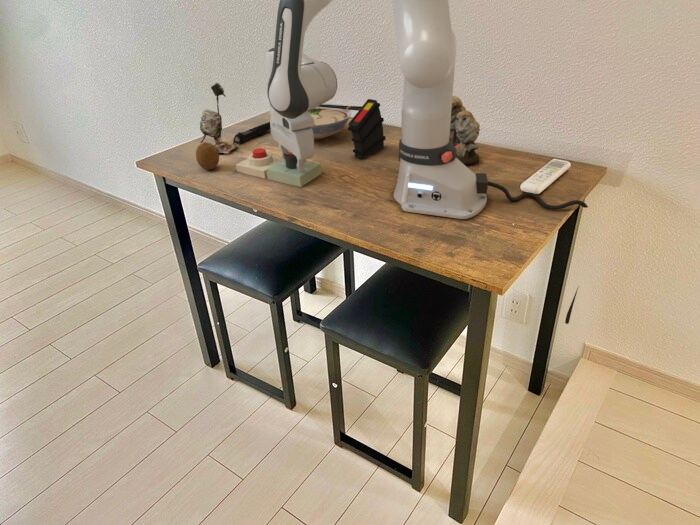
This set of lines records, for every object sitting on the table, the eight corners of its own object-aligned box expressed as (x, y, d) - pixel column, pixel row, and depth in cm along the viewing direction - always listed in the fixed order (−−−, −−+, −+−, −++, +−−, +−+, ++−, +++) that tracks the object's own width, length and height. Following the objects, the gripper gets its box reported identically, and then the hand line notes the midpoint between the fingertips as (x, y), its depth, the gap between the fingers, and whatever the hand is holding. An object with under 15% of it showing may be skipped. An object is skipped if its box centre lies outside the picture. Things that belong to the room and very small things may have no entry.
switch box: (286, 166, 147) (284, 152, 145) (264, 178, 141) (262, 164, 138) (258, 160, 152) (257, 146, 150) (236, 171, 145) (234, 158, 143)
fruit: (196, 168, 148) (190, 141, 144) (218, 163, 151) (213, 136, 146) (201, 175, 144) (196, 148, 139) (224, 170, 146) (219, 143, 142)
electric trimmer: (275, 131, 172) (274, 122, 171) (240, 145, 162) (239, 135, 161) (267, 129, 174) (266, 120, 173) (232, 143, 164) (231, 133, 163)
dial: (304, 164, 140) (302, 152, 138) (295, 170, 137) (294, 157, 135) (291, 162, 142) (290, 149, 140) (283, 167, 139) (281, 155, 137)
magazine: (391, 139, 157) (378, 99, 146) (368, 170, 153) (353, 131, 141) (381, 137, 159) (367, 97, 148) (358, 167, 155) (342, 129, 143)
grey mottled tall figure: (214, 143, 165) (202, 78, 154) (241, 149, 160) (231, 82, 149) (195, 152, 159) (181, 85, 148) (223, 158, 154) (211, 89, 143)
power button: (269, 155, 145) (268, 149, 144) (260, 160, 142) (260, 153, 141) (259, 153, 146) (258, 147, 145) (250, 157, 144) (249, 151, 143)
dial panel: (321, 173, 142) (320, 163, 140) (300, 187, 135) (299, 176, 133) (289, 166, 147) (287, 156, 145) (267, 179, 140) (266, 168, 138)
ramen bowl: (265, 143, 163) (261, 118, 158) (299, 121, 180) (296, 97, 176) (338, 153, 154) (336, 126, 150) (366, 128, 171) (365, 103, 167)
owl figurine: (410, 158, 149) (412, 98, 139) (428, 145, 157) (430, 87, 147) (470, 170, 140) (476, 107, 131) (485, 155, 149) (492, 95, 139)
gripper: (261, 105, 138) (268, 154, 146) (293, 126, 123) (298, 180, 130) (283, 101, 140) (288, 150, 148) (317, 121, 125) (320, 174, 133)
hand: (293, 164), depth 139 cm, fingers open, 8 cm apart
